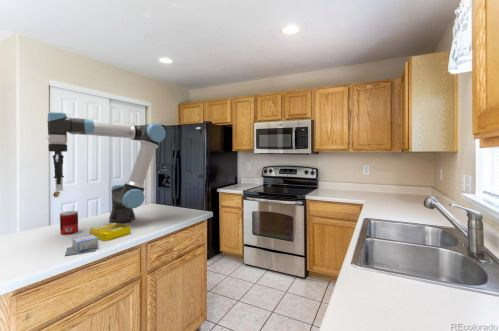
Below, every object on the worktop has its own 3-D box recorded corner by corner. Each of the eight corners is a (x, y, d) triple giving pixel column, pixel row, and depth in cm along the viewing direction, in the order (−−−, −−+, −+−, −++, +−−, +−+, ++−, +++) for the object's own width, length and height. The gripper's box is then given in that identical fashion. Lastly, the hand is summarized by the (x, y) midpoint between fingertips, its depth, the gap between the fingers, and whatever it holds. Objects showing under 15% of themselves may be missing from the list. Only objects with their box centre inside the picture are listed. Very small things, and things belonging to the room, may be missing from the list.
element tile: (104, 242, 124) (104, 232, 124) (88, 237, 132) (87, 228, 131) (132, 234, 137) (132, 225, 137) (115, 229, 145) (115, 221, 144)
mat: (95, 244, 120) (95, 243, 120) (95, 251, 112) (95, 250, 112) (67, 248, 115) (67, 247, 115) (64, 256, 107) (64, 255, 107)
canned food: (81, 230, 140) (81, 211, 140) (67, 235, 133) (67, 214, 132) (71, 229, 142) (70, 210, 142) (56, 234, 135) (56, 213, 134)
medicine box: (91, 233, 121) (98, 237, 115) (91, 242, 121) (98, 247, 116) (71, 238, 115) (78, 242, 109) (72, 247, 115) (79, 252, 109)
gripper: (50, 143, 129) (51, 189, 131) (46, 143, 118) (47, 193, 119) (68, 144, 133) (69, 188, 134) (65, 143, 122) (67, 191, 123)
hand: (59, 190), depth 127 cm, fingers closed
